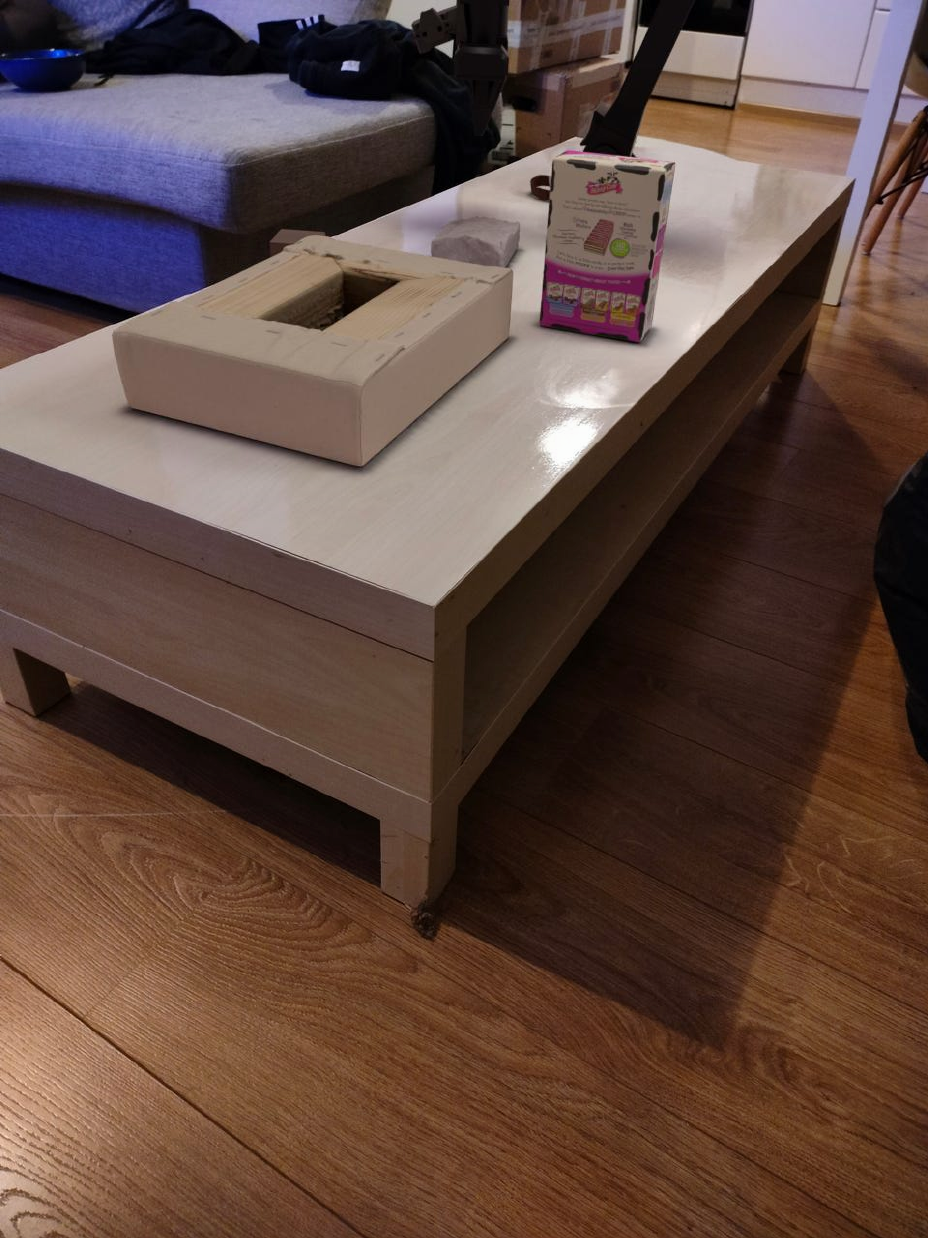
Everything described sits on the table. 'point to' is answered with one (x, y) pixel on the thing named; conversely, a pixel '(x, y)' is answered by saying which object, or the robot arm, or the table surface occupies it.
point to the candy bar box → (604, 243)
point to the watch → (540, 181)
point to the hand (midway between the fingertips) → (479, 130)
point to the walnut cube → (288, 239)
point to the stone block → (477, 241)
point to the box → (317, 346)
